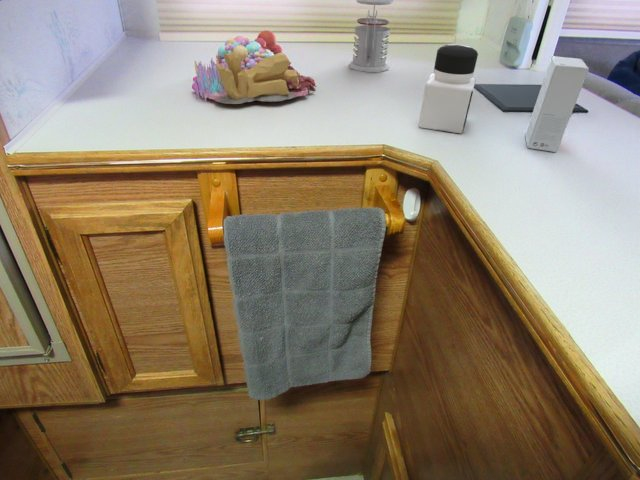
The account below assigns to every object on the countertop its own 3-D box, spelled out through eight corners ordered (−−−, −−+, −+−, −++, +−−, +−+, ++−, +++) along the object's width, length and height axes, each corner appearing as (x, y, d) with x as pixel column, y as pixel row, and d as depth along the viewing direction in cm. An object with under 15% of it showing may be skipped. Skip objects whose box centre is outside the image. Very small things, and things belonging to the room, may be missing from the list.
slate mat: (544, 86, 90) (545, 84, 90) (587, 112, 78) (588, 109, 77) (472, 85, 89) (472, 83, 89) (503, 112, 77) (503, 109, 76)
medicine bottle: (462, 134, 67) (481, 54, 60) (417, 127, 69) (431, 48, 62) (466, 120, 73) (484, 44, 66) (424, 113, 74) (437, 40, 67)
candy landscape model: (335, 97, 80) (338, 45, 75) (216, 116, 70) (209, 58, 65) (277, 66, 98) (276, 22, 92) (175, 78, 88) (167, 29, 82)
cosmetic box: (557, 153, 62) (590, 68, 55) (526, 148, 63) (555, 64, 56) (553, 138, 67) (583, 58, 60) (524, 134, 68) (550, 55, 61)
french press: (390, 62, 103) (405, -63, 89) (388, 75, 94) (404, -63, 79) (350, 59, 105) (359, -65, 90) (344, 72, 95) (352, -65, 81)
